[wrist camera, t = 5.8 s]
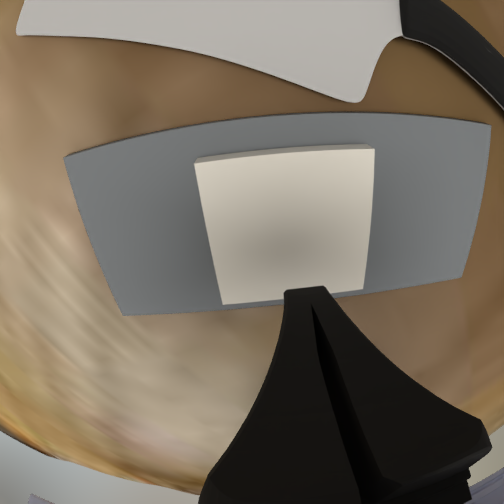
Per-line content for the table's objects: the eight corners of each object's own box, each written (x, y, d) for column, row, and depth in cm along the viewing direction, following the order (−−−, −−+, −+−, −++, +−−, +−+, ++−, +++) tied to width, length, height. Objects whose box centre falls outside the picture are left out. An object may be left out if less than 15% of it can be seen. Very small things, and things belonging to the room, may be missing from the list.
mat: (457, 272, 18) (461, 277, 18) (125, 309, 19) (123, 315, 19) (485, 123, 13) (491, 125, 12) (68, 154, 13) (63, 157, 13)
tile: (362, 289, 16) (222, 304, 17) (357, 276, 17) (223, 291, 18) (374, 148, 12) (193, 163, 12) (365, 143, 13) (197, 156, 13)
